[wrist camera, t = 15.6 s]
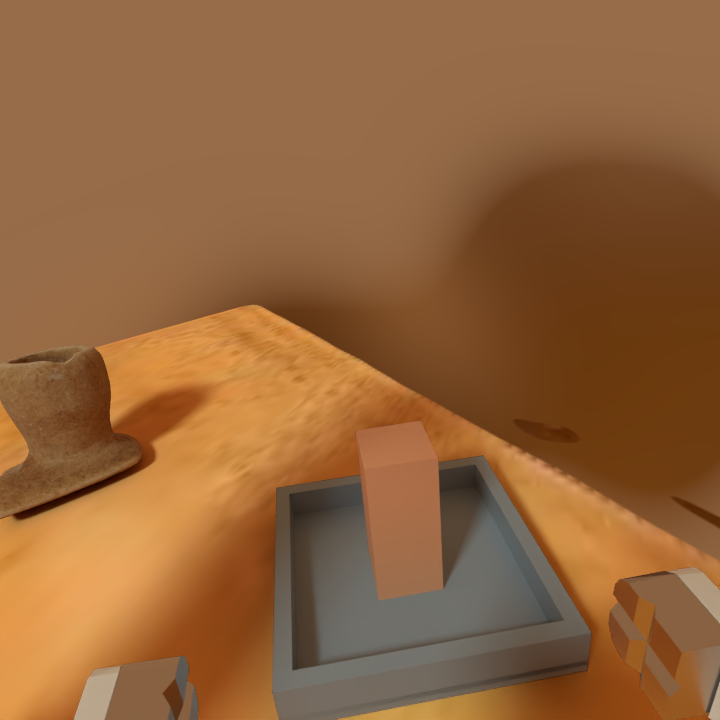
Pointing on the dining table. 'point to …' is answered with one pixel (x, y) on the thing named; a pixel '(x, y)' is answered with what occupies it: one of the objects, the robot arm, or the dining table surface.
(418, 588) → the terracotta block
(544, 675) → the tray
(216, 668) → the dining table surface
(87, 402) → the stone cup
